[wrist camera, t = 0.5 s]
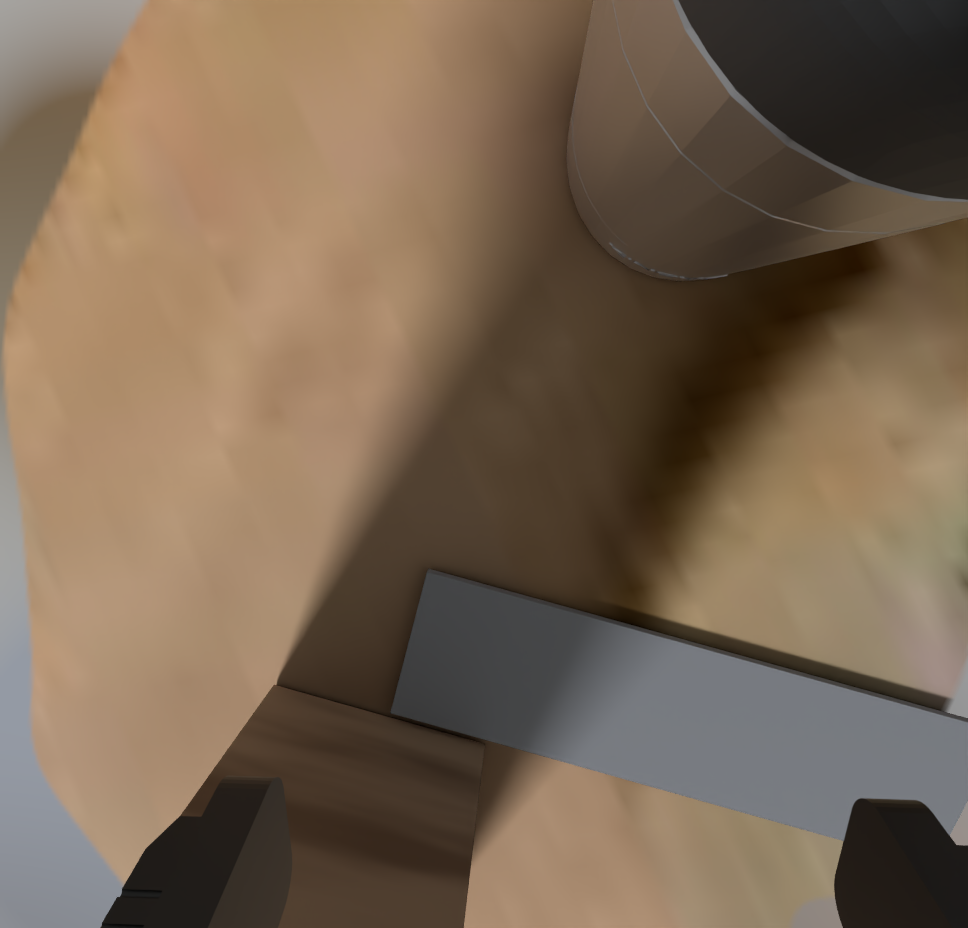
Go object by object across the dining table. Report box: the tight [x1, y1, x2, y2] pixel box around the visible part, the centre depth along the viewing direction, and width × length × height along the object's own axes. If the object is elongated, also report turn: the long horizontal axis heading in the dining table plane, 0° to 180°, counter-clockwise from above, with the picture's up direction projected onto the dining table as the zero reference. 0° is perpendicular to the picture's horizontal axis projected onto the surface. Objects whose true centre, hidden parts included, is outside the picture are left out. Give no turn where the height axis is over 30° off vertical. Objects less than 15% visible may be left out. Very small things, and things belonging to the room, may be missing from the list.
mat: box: [390, 569, 968, 841], centre depth 29 cm, size 7×25×1 cm, turn 75°
